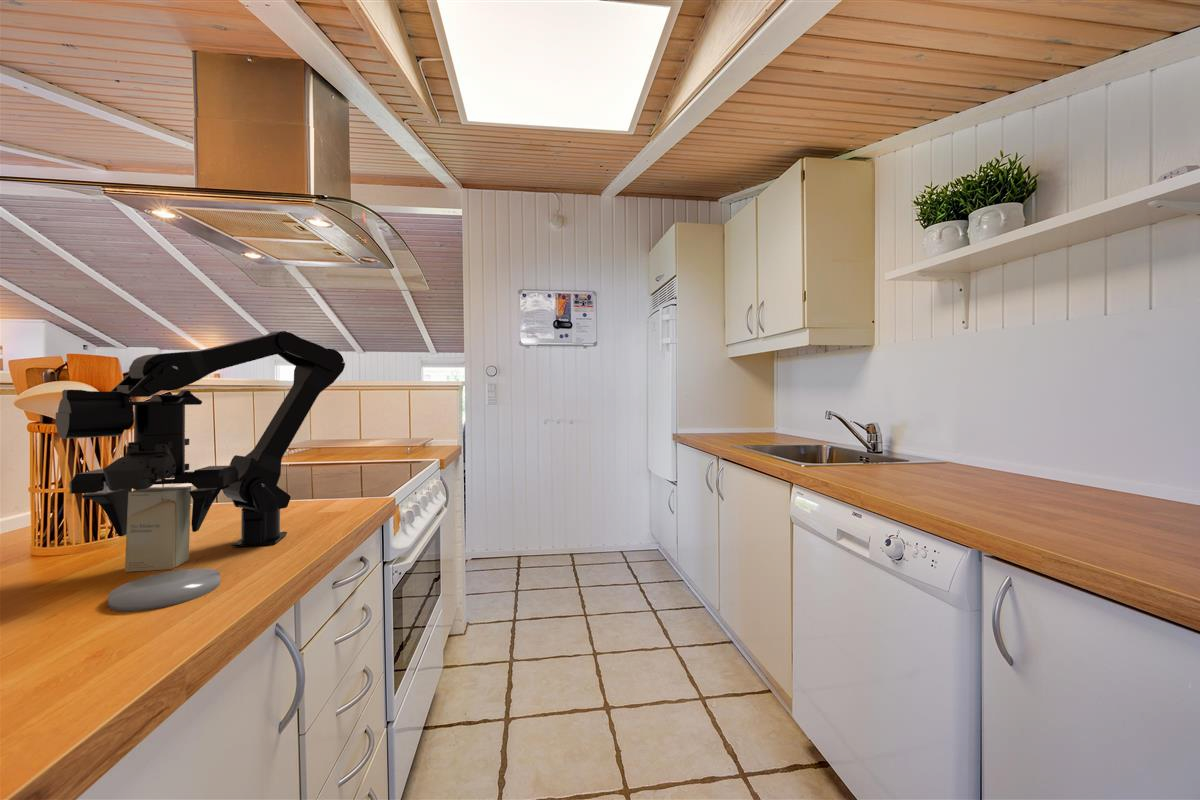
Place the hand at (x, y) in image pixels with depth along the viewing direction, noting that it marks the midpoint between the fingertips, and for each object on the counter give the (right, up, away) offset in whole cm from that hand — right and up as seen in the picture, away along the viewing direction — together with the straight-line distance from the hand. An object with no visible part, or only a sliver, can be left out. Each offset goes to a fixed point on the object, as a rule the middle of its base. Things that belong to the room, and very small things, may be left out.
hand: (159, 533), depth 71 cm
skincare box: (0, -5, 0) cm, 5 cm away
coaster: (+10, -5, -9) cm, 15 cm away
